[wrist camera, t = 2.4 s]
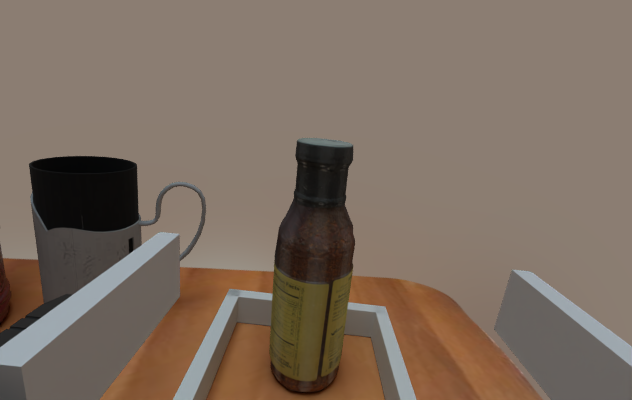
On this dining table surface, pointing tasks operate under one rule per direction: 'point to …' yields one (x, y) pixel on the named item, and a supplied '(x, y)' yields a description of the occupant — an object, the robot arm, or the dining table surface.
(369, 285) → the dining table surface
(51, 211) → the glass holder
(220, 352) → the frame
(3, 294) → the canister
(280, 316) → the sauce bottle
